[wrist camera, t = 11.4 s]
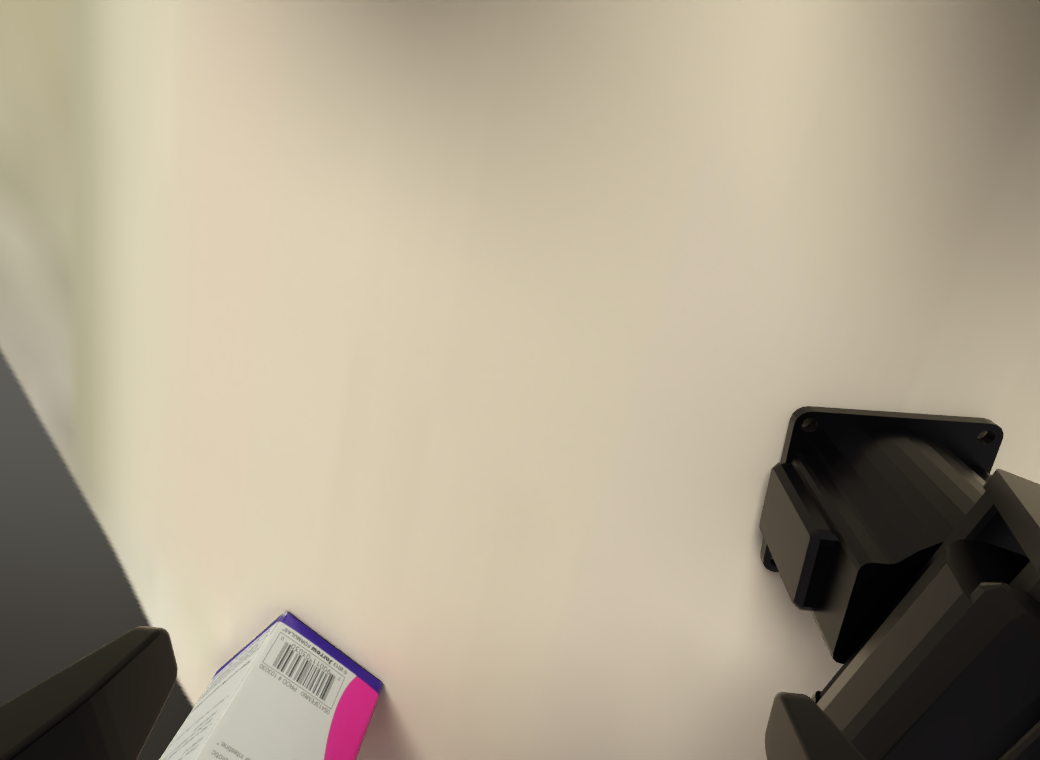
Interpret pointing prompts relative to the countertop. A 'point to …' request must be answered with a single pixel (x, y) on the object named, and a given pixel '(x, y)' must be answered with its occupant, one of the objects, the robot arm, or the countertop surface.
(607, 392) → the countertop surface
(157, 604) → the countertop surface
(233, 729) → the supplement box
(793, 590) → the robot arm
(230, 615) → the countertop surface
